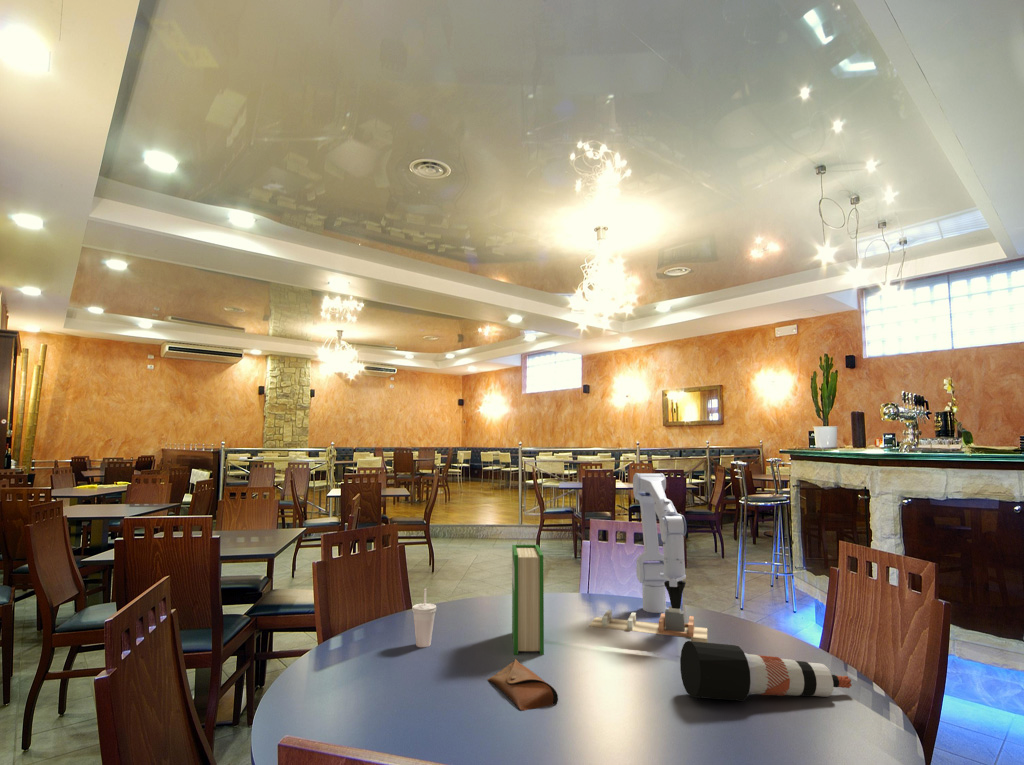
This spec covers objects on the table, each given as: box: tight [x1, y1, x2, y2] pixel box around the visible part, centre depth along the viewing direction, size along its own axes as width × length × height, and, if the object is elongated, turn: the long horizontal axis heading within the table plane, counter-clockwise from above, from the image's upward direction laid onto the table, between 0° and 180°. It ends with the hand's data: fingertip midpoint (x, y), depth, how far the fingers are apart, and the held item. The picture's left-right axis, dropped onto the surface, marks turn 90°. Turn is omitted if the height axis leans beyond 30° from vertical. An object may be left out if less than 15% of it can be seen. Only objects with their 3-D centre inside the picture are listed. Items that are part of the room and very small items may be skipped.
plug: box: [664, 606, 686, 632], centre depth 152 cm, size 4×5×6 cm
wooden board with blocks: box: [588, 609, 708, 643], centre depth 154 cm, size 10×32×4 cm, turn 70°
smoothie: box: [411, 588, 437, 648], centre depth 143 cm, size 6×6×14 cm
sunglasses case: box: [487, 658, 559, 712], centre depth 114 cm, size 18×7×7 cm
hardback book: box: [511, 544, 545, 656], centre depth 145 cm, size 18×7×24 cm, turn 2°
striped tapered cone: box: [679, 640, 853, 702], centre depth 111 cm, size 10×34×10 cm, turn 92°
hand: (676, 608), depth 152 cm, fingers closed, pressing on plug
